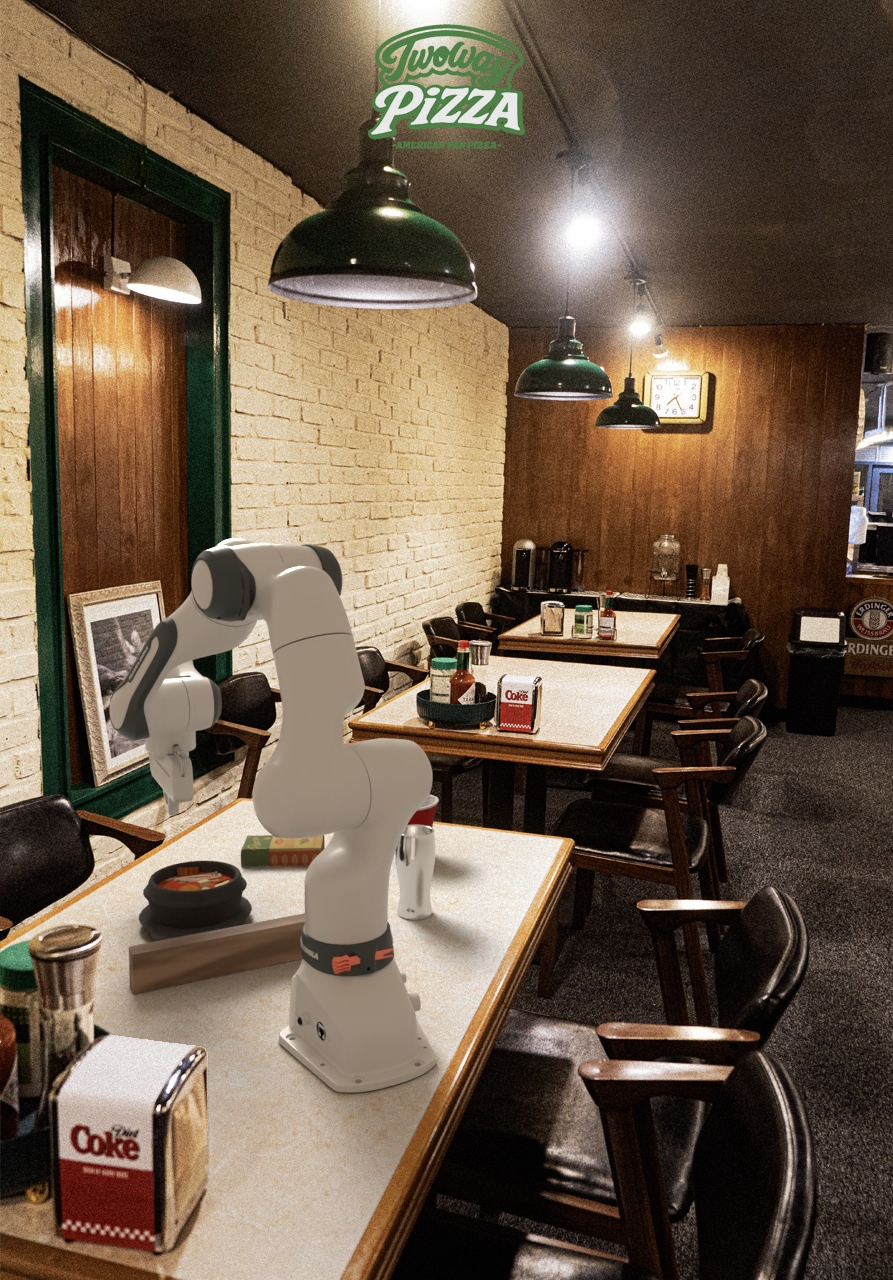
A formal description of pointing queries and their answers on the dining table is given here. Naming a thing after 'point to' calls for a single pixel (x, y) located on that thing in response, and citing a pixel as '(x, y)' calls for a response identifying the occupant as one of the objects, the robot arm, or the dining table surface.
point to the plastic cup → (425, 812)
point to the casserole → (194, 899)
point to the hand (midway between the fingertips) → (172, 812)
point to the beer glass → (415, 871)
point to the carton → (280, 851)
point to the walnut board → (214, 953)
